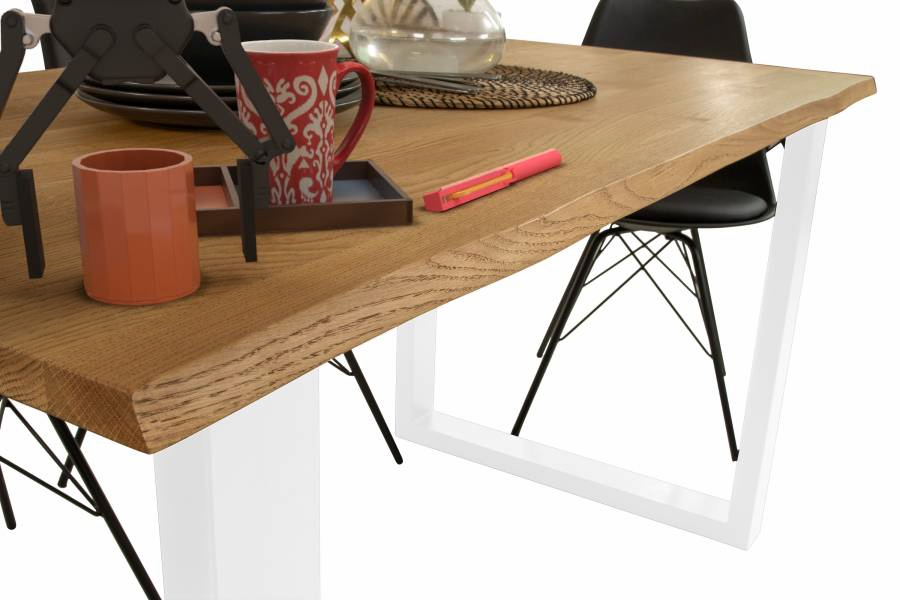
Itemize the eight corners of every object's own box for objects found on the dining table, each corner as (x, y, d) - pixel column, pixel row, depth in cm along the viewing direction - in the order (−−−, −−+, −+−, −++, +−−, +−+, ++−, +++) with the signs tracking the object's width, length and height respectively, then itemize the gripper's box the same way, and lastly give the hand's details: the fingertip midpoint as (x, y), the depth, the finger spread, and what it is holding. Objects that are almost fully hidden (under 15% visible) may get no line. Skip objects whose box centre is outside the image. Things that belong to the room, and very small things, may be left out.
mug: (257, 222, 82) (250, 52, 77) (223, 197, 89) (214, 40, 85) (396, 206, 88) (397, 47, 83) (353, 183, 95) (352, 37, 91)
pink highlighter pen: (410, 219, 89) (453, 211, 87) (404, 196, 89) (447, 187, 86) (535, 172, 109) (574, 164, 106) (531, 152, 108) (569, 144, 105)
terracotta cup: (83, 314, 64) (68, 174, 60) (88, 277, 70) (75, 149, 67) (203, 305, 66) (195, 169, 63) (197, 270, 72) (189, 146, 69)
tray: (95, 247, 77) (92, 215, 76) (101, 196, 91) (99, 169, 90) (412, 229, 84) (413, 199, 83) (372, 184, 98) (372, 159, 97)
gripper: (312, -73, 67) (322, 235, 74) (-105, -78, 60) (-49, 261, 67) (331, -74, 60) (341, 266, 67) (-136, -80, 53) (-69, 298, 60)
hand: (146, 264), depth 67 cm, fingers open, 13 cm apart
